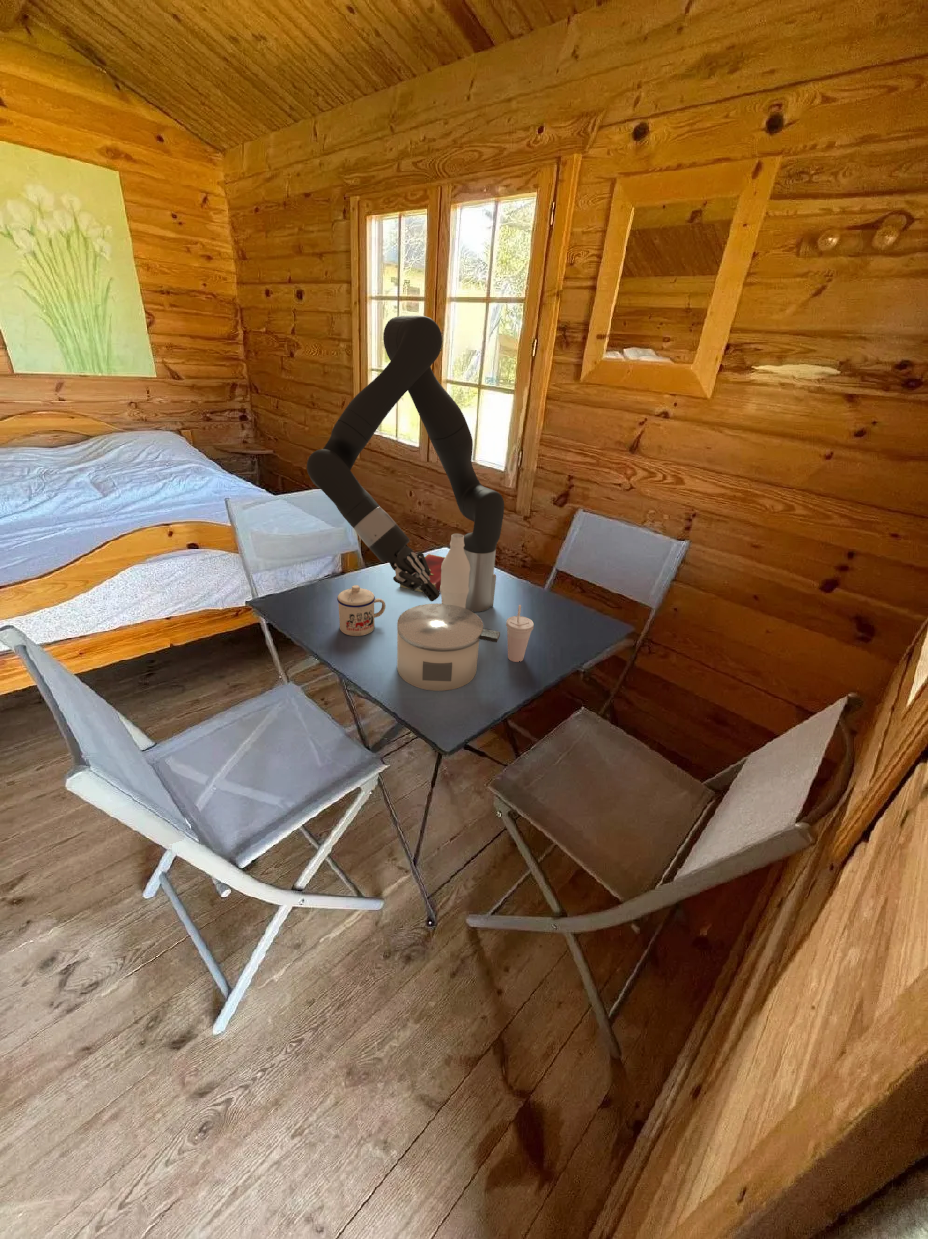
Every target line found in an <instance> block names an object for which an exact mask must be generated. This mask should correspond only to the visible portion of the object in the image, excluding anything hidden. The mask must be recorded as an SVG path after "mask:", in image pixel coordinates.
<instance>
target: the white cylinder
mask: <svg viewBox="0 0 928 1239" xmlns="http://www.w3.org/2000/svg"><path fill="white" fill-rule="evenodd" d="M396 631H397V633H396V635H397V638H396V639H397V642H396V644H397V647H396V648H397V657H396V659H397V662H396V664H397V665H396V667H397V668H396V669H397V672H398V675H399V676H400V678H401V679H402V680H403V681H404V682H405V683H407V684H409V685H411V686H413V687H416V688H418V689H422V690H427V691H433V692H435V691H437V692H438V691H439V692H441V691H443V692H444V691H452V690H456V689H459V688H462V687H464V686H466V685H468V684H469V683H470V682H472V680H473V679H474V678H475V676H476V675H477V668H478V666H477V665H478V658H479V657H478V656H479V646H480V645H479V644H480V640H479V641H478V642H477V643H475V644H474V645H472V646H470V647H468V648H465V649H461V650H457V651H447V652H438V651H430V650H424V649H420V648H417V647H415V646H412V645H410V644H409V643H407V642H405V641H404V640H403V639H402V638H401V637H400V635H399V634H398V630H397V629H396Z"/></svg>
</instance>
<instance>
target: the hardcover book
mask: <svg viewBox="0 0 928 1239" xmlns="http://www.w3.org/2000/svg"><path fill="white" fill-rule="evenodd" d="M424 557H425V560H426V562H427V565H428V567H429V570H430V573H431V575H430V576H429V577H430V582H431V583H432V584H433V585H434V586H435V588H436V589H437V590H438V591H439V592H440V585H441V566H442V562H443V560H444V558H445V557H446V556H445V557H444V556H439V555H436V554H432V553H428V554H426V555H424ZM424 571H425V570H424ZM414 573H415V572H414ZM411 584H412V583H411ZM399 587H400V588H404V589H407V590H410V589H409V588H407V587H405V586H403V585H401V584H399ZM414 591H416V592H419V593H423V592H422V590H420V589H416V590H414Z"/></svg>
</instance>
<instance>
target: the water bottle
mask: <svg viewBox="0 0 928 1239" xmlns="http://www.w3.org/2000/svg"><path fill="white" fill-rule="evenodd" d="M464 535H465V534H462V533H453V534H451V536H450V542H449V546H450V548H449V551H448V552H447V553H446V555H445V558H444V560H443V562H442V566H441V585H440V591H439V592H440V596H441V602H440V604H450V605H455V606H459V607H463V608H465V606H466V598H467V595H468V592H469V587H468V586H469V573H470V564H469V561H468V559H467V557H466V555H465V552H464V546H465V544H464ZM465 609H466V608H465Z"/></svg>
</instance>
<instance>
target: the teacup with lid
mask: <svg viewBox="0 0 928 1239" xmlns="http://www.w3.org/2000/svg"><path fill="white" fill-rule="evenodd" d="M336 598H337V602H338V616H339V617H338V619H339V620H338V622H339V629H340V631H341V632H342V633H343V634H345V635H347V636H351V637H361V636H365V635H369V634H370V633H372V632H373V631H374V629H375V626H376V625H375V619H376V618H378V617H381V616H382V615H383V614H384V612H385V609H386V602H385V601H384V600H383V599H382V598H376V596H375V594H374V593H373V591H370V590H369V589H366V588H361V587H360V585H357V584H355V585H352V586H351V588H347V589H344V590H342V591H341V592H339V594H338V595H337V597H336ZM376 603H380V604H381V608H380V610H379V611H378V612H375V604H376Z"/></svg>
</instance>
